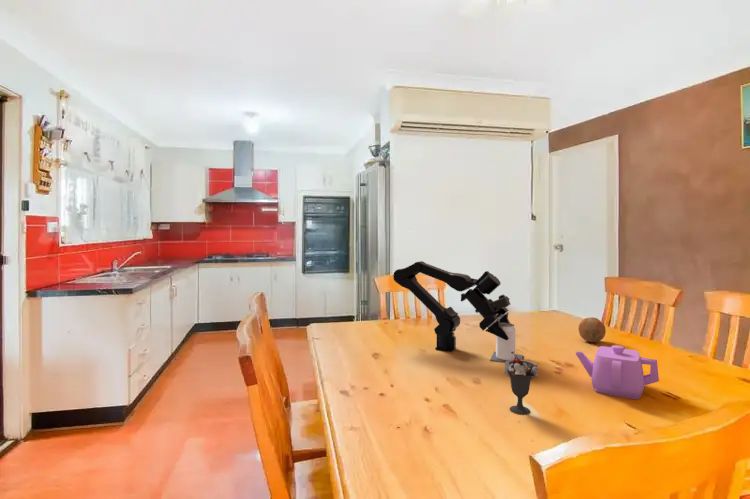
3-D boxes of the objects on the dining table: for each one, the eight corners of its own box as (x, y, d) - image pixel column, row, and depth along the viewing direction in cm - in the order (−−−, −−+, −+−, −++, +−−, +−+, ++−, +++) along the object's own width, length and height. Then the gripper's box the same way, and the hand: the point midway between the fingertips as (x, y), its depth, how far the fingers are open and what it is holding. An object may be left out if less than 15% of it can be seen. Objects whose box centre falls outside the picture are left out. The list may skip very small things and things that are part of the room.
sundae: (501, 405, 109) (502, 349, 108) (526, 404, 109) (527, 348, 108) (512, 416, 102) (513, 357, 101) (538, 415, 103) (539, 356, 102)
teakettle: (616, 403, 109) (617, 357, 109) (571, 380, 126) (572, 340, 125) (667, 396, 114) (669, 352, 113) (617, 375, 130) (618, 336, 129)
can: (518, 360, 143) (518, 326, 143) (500, 361, 142) (501, 327, 142) (509, 354, 150) (510, 322, 149) (492, 355, 149) (493, 322, 148)
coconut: (598, 338, 172) (599, 314, 171) (610, 345, 162) (610, 320, 161) (574, 338, 172) (574, 314, 172) (584, 345, 163) (584, 320, 162)
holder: (503, 376, 129) (503, 366, 129) (507, 366, 138) (507, 357, 138) (536, 380, 126) (536, 371, 125) (537, 370, 134) (538, 361, 134)
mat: (490, 360, 145) (490, 359, 145) (494, 352, 154) (494, 351, 154) (520, 364, 140) (520, 363, 140) (522, 355, 150) (522, 354, 150)
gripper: (488, 291, 140) (522, 328, 135) (502, 285, 156) (533, 317, 151) (466, 312, 144) (497, 348, 139) (482, 303, 160) (510, 335, 155)
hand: (511, 336), depth 146 cm, fingers open, 9 cm apart
